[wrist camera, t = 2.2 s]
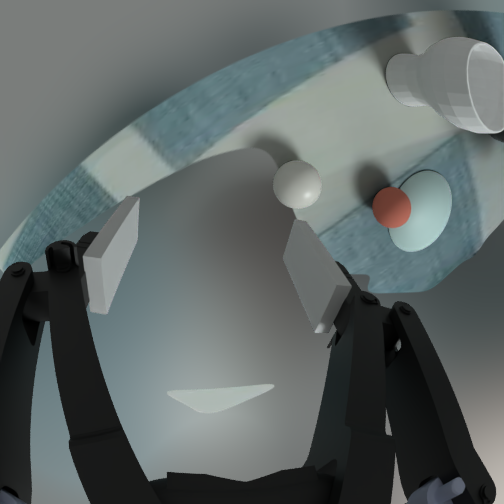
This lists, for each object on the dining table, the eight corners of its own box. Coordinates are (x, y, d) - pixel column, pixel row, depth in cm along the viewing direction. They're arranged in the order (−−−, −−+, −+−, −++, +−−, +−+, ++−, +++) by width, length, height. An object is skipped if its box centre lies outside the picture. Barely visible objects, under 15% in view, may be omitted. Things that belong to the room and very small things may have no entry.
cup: (420, 40, 24) (502, 36, 11) (441, 107, 30) (520, 127, 17) (364, 50, 25) (448, 37, 13) (390, 125, 31) (475, 150, 18)
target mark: (433, 152, 33) (434, 152, 33) (459, 213, 39) (459, 213, 39) (373, 213, 37) (373, 213, 37) (408, 265, 43) (409, 266, 43)
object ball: (385, 173, 34) (408, 186, 30) (402, 200, 37) (424, 215, 32) (358, 200, 36) (378, 216, 31) (377, 225, 38) (396, 243, 33)
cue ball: (292, 146, 31) (306, 155, 26) (320, 177, 34) (338, 191, 29) (259, 178, 33) (267, 193, 28) (289, 207, 35) (302, 225, 30)
